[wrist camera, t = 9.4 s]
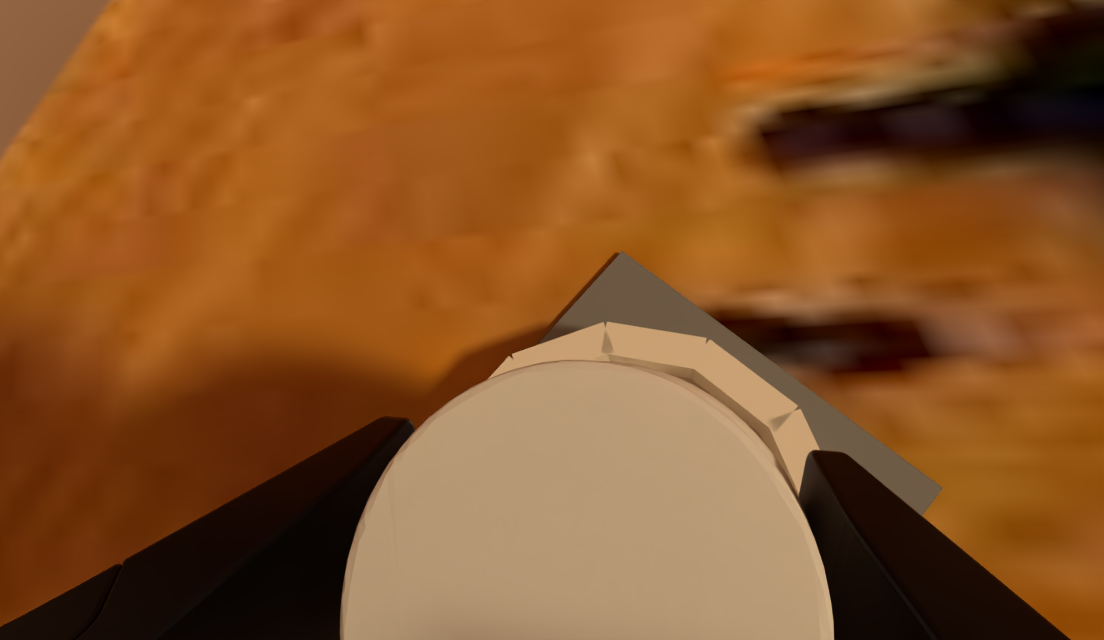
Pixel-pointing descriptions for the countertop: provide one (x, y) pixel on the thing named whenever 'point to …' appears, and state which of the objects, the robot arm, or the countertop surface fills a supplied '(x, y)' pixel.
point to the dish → (690, 380)
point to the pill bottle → (584, 519)
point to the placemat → (656, 305)
